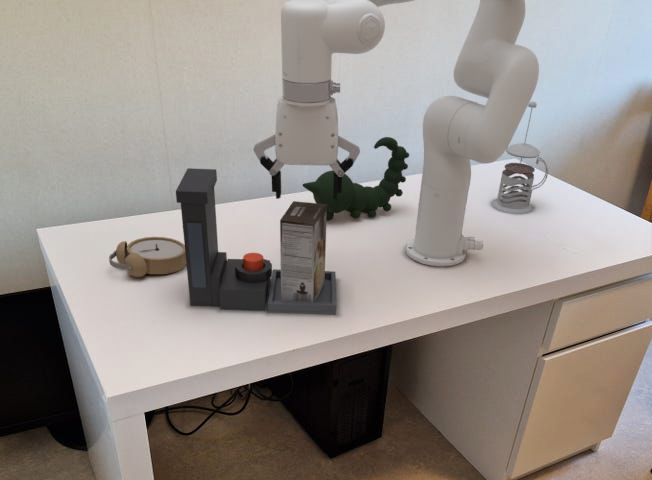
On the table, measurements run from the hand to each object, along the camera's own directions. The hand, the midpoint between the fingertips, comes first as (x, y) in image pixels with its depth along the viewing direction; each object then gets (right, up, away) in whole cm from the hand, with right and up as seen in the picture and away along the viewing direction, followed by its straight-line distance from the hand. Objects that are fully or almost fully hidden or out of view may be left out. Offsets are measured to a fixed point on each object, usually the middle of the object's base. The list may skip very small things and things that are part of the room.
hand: (307, 196), depth 113 cm
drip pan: (-1, -16, +11) cm, 19 cm away
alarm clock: (-32, -10, +18) cm, 38 cm away
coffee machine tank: (-19, -15, +10) cm, 27 cm away
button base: (-12, -16, +10) cm, 22 cm away
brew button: (-10, -11, +7) cm, 17 cm away
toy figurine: (+9, +6, +43) cm, 44 cm away
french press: (+50, +10, +53) cm, 73 cm away
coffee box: (-1, -16, +10) cm, 19 cm away
